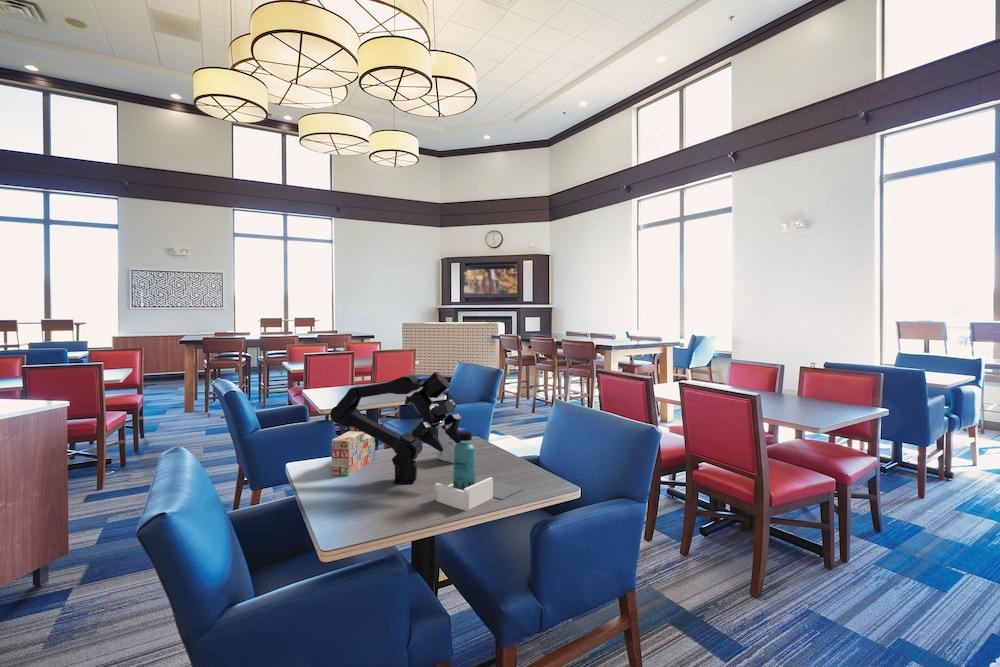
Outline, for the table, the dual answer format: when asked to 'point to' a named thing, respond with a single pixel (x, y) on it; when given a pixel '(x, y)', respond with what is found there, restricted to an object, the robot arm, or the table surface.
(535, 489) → the table surface
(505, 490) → the mat
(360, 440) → the stack of blocks
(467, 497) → the open-sided box
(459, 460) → the beverage bottle
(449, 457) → the ink cartridge box
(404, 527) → the table surface
